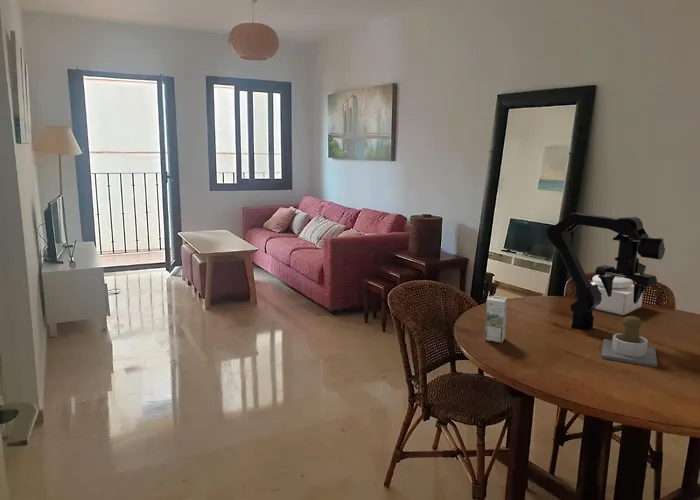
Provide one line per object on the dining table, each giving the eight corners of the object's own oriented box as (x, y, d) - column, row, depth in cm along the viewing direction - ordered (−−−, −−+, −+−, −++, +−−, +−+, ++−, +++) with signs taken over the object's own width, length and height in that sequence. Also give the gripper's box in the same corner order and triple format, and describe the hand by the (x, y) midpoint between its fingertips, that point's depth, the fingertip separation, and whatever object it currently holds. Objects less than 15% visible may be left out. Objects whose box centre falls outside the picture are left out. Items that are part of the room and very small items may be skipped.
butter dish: (598, 298, 233) (601, 262, 230) (642, 307, 219) (646, 269, 216) (579, 305, 221) (582, 268, 218) (624, 316, 208) (629, 276, 205)
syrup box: (504, 338, 182) (507, 296, 179) (502, 343, 177) (504, 301, 174) (487, 335, 184) (490, 294, 182) (484, 341, 179) (486, 299, 176)
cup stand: (601, 358, 165) (602, 342, 164) (603, 341, 179) (604, 327, 178) (656, 367, 159) (658, 351, 158) (654, 349, 173) (656, 334, 172)
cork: (642, 354, 165) (646, 320, 163) (621, 353, 167) (625, 319, 165) (636, 347, 171) (640, 314, 169) (616, 346, 172) (619, 313, 170)
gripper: (669, 257, 176) (662, 303, 179) (615, 248, 191) (610, 290, 194) (649, 261, 170) (643, 308, 173) (596, 250, 186) (591, 294, 189)
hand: (622, 299), depth 182 cm, fingers open, 9 cm apart
